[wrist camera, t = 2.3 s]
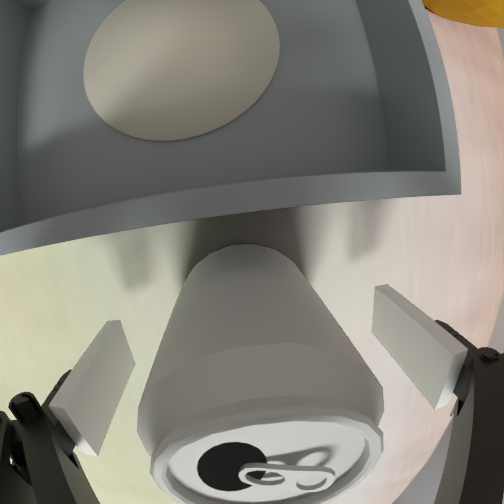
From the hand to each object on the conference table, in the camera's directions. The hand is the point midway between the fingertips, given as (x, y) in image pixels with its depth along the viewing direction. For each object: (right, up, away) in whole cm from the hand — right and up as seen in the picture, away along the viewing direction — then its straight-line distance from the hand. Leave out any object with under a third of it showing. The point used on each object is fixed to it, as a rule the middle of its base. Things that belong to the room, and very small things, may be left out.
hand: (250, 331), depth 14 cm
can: (0, +1, +3) cm, 4 cm away
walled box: (-4, +15, -1) cm, 16 cm away
